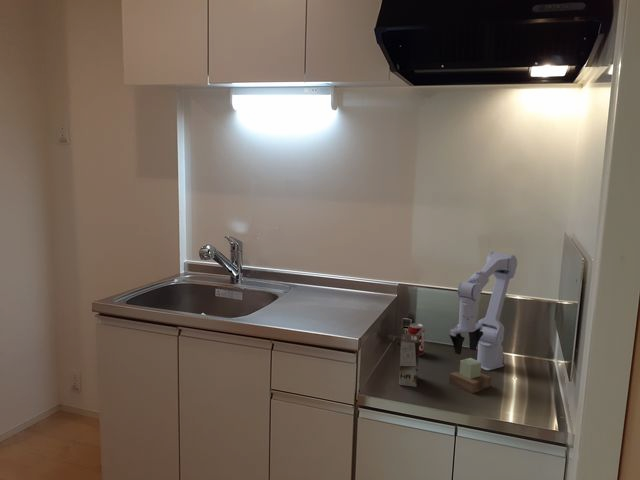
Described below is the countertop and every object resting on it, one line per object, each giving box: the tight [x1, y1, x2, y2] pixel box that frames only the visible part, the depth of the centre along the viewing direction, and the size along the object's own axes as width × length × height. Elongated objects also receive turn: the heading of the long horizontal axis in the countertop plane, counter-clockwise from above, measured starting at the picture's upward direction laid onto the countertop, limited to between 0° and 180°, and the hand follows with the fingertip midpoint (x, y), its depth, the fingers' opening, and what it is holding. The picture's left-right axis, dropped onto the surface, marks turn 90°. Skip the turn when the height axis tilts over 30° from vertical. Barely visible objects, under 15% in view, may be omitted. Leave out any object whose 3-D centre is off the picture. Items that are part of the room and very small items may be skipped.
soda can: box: [407, 322, 426, 356], centre depth 214 cm, size 7×7×12 cm
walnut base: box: [448, 369, 492, 394], centre depth 186 cm, size 10×10×4 cm
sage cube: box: [459, 357, 482, 379], centre depth 186 cm, size 5×5×5 cm
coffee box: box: [398, 333, 420, 388], centre depth 188 cm, size 9×6×16 cm
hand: (465, 351), depth 190 cm, fingers open, 7 cm apart
